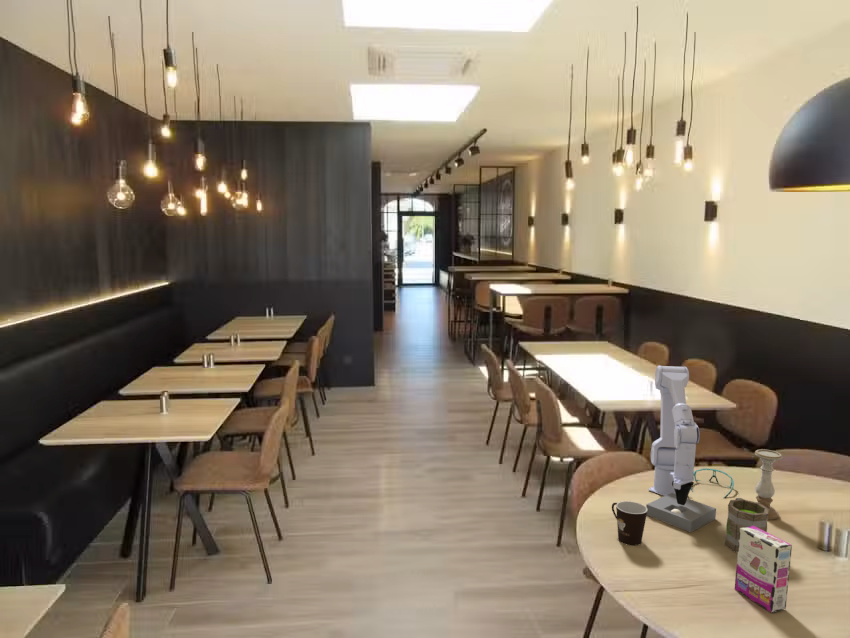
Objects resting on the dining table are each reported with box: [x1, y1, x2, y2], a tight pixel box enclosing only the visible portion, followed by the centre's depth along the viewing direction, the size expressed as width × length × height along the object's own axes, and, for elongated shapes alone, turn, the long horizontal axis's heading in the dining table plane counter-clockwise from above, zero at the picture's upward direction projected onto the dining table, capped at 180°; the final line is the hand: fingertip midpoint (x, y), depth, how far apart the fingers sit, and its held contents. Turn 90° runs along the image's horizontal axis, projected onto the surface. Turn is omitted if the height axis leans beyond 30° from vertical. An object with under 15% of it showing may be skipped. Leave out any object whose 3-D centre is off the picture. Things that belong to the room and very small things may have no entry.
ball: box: [671, 509, 681, 514], centre depth 197 cm, size 4×4×4 cm
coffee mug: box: [611, 500, 648, 546], centre depth 185 cm, size 12×9×10 cm
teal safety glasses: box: [690, 468, 735, 499], centre depth 223 cm, size 14×15×5 cm
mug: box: [724, 497, 769, 554], centre depth 182 cm, size 16×11×12 cm
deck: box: [645, 493, 717, 533], centre depth 199 cm, size 15×15×4 cm
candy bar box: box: [734, 526, 793, 613], centre depth 154 cm, size 11×5×16 cm, turn 21°
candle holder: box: [754, 448, 783, 521], centre depth 201 cm, size 9×9×20 cm
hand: (681, 503), depth 199 cm, fingers closed
